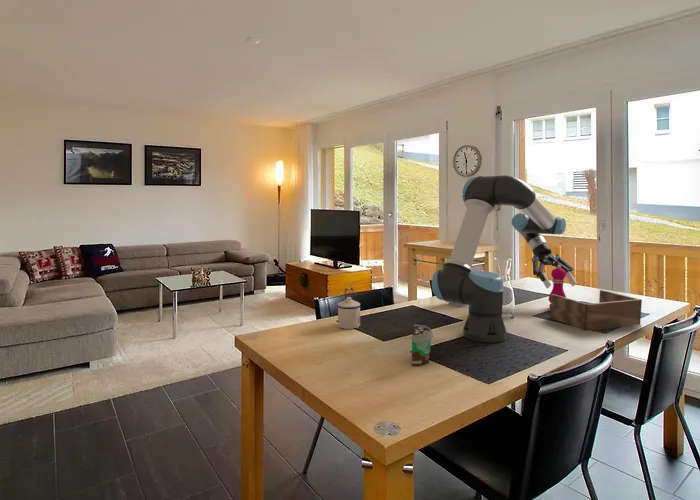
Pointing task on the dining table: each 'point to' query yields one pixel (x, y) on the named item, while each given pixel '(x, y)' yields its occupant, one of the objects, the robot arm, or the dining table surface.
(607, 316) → the open-sided box
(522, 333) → the dining table surface
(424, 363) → the food container
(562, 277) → the pepper mill
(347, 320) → the teacup with lid
